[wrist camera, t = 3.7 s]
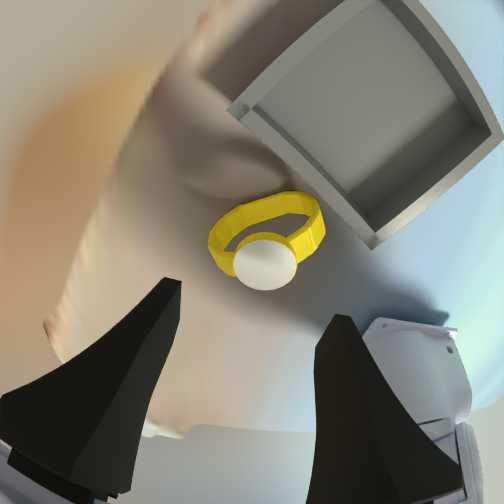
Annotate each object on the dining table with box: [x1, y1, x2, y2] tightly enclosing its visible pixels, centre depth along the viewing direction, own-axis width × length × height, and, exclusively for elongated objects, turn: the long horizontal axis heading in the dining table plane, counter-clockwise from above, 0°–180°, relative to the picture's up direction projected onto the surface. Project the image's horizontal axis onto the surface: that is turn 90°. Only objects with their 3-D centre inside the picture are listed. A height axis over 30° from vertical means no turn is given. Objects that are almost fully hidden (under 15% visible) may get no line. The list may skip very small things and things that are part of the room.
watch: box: [207, 191, 326, 291], centre depth 15 cm, size 6×3×6 cm, turn 110°
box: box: [226, 0, 504, 250], centre depth 12 cm, size 11×11×2 cm
